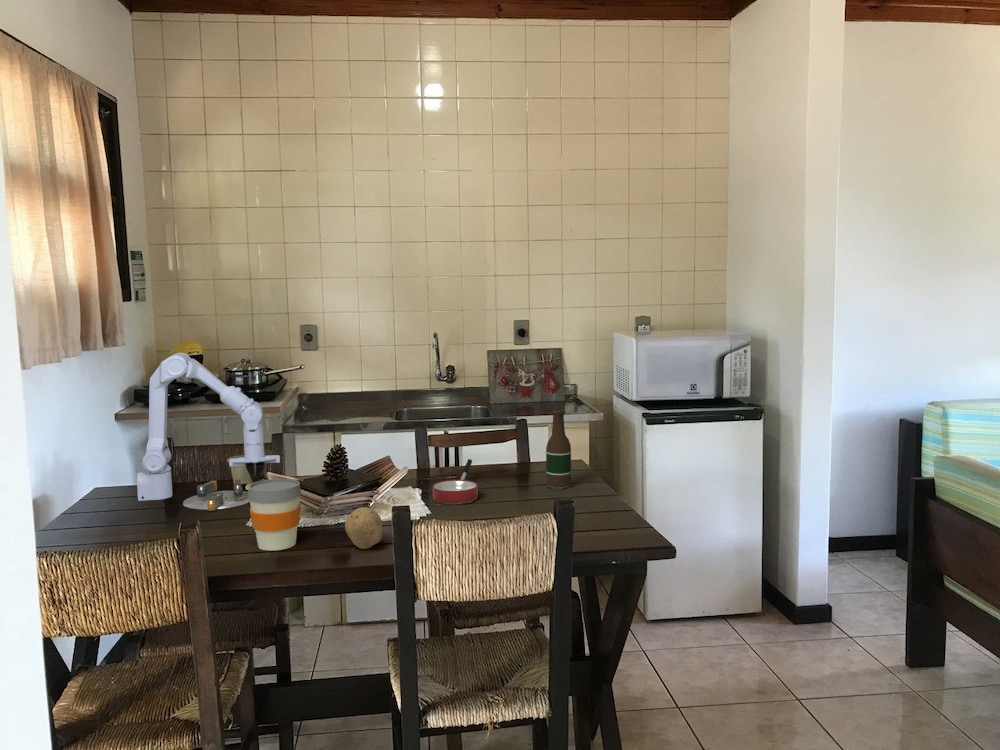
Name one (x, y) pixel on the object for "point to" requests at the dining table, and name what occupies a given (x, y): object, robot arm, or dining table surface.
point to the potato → (364, 527)
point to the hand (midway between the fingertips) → (256, 487)
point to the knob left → (206, 488)
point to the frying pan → (456, 489)
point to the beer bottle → (558, 453)
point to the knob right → (237, 487)
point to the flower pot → (240, 472)
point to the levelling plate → (229, 501)
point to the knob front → (215, 501)
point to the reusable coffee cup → (275, 512)
